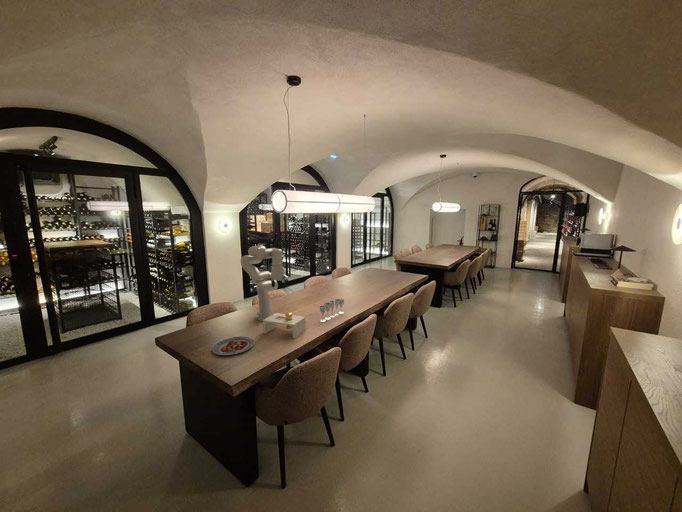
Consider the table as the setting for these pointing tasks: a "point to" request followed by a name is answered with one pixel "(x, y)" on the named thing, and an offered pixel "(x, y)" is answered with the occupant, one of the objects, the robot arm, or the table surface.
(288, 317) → the brass capped stopper
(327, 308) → the goblet set
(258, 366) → the table surface
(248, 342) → the ceramic plate
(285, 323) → the keyhole shelf
